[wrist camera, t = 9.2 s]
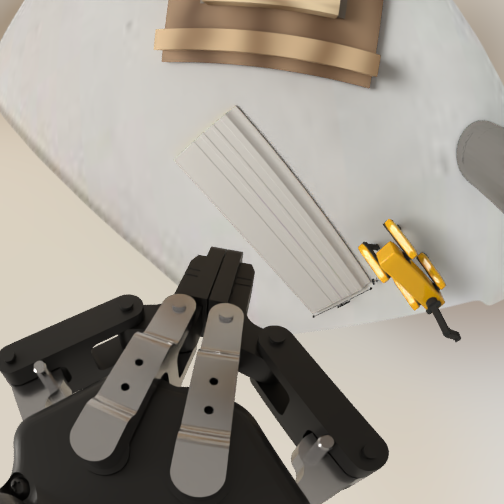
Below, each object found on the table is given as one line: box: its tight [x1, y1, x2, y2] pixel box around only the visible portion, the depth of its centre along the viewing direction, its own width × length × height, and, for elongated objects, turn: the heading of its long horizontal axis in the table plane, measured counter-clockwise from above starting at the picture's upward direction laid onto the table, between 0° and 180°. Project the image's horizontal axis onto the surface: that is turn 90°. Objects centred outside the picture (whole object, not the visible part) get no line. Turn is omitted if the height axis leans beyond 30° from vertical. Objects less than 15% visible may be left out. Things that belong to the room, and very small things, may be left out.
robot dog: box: [358, 219, 461, 342], centre depth 36 cm, size 6×18×13 cm, turn 54°
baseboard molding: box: [174, 106, 378, 318], centre depth 40 cm, size 31×3×12 cm
